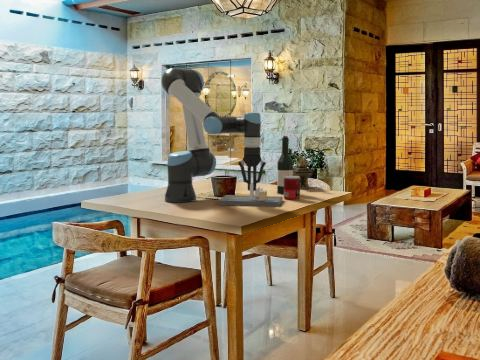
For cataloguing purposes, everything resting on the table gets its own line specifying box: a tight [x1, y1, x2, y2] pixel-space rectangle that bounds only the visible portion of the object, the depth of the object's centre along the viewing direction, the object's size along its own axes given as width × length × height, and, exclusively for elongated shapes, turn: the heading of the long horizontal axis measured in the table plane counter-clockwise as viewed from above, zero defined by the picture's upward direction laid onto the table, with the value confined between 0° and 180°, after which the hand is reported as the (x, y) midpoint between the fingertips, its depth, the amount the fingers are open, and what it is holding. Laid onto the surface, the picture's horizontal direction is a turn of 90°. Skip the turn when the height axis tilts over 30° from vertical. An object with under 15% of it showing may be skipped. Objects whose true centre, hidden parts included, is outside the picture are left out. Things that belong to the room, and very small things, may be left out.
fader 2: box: [259, 189, 268, 201], centre depth 239 cm, size 3×5×4 cm, turn 170°
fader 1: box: [254, 186, 264, 197], centre depth 248 cm, size 3×5×4 cm, turn 170°
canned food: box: [283, 176, 301, 201], centre depth 255 cm, size 8×8×11 cm
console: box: [218, 194, 283, 207], centre depth 245 cm, size 28×16×2 cm, turn 80°
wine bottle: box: [276, 135, 294, 195], centre depth 271 cm, size 8×8×30 cm
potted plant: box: [293, 152, 313, 190], centre depth 291 cm, size 20×10×20 cm, turn 7°
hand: (251, 197), depth 240 cm, fingers closed
